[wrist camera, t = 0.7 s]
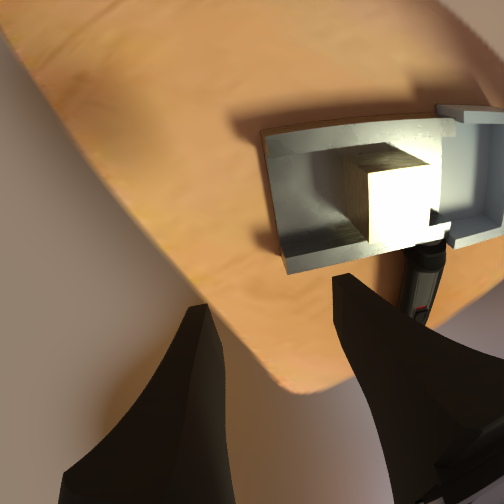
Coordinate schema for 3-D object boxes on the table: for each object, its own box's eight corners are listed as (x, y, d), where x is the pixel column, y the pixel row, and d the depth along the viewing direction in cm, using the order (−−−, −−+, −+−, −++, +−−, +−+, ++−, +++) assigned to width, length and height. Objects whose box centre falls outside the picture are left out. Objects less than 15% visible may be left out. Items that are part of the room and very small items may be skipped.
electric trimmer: (370, 364, 29) (381, 389, 26) (397, 224, 20) (421, 247, 18) (402, 355, 29) (414, 378, 26) (438, 219, 21) (462, 240, 18)
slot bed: (436, 112, 17) (455, 118, 15) (433, 223, 21) (449, 236, 19) (259, 130, 17) (265, 136, 15) (281, 257, 21) (287, 274, 19)
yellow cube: (400, 149, 17) (431, 164, 14) (400, 207, 19) (428, 230, 16) (342, 156, 17) (367, 173, 14) (346, 217, 19) (369, 243, 16)
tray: (491, 106, 16) (518, 113, 14) (484, 218, 21) (505, 234, 19) (436, 104, 16) (463, 110, 14) (432, 230, 21) (454, 249, 19)
